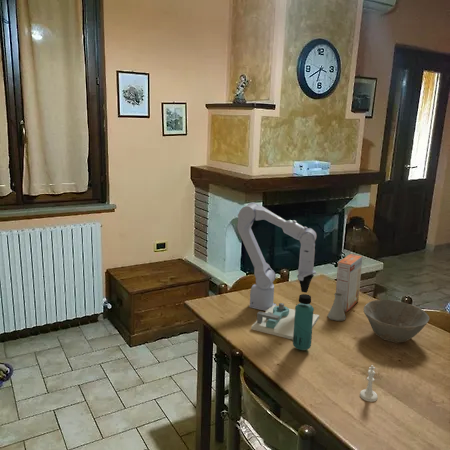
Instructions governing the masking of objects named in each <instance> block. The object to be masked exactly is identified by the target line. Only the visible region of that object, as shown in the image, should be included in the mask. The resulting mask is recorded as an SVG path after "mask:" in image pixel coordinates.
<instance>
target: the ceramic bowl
mask: <svg viewBox="0 0 450 450" xmlns="http://www.w3.org/2000/svg"><path fill="white" fill-rule="evenodd" d="M363 313H364V315H365V317H366V318H367V319H368V320H367V321H368V322H369V324H370V327H371V329H372V332H374V334H376V335H377V336H378V337H379V338H381V339H382V340H385V341H389V342H392V343H406V342H407V341H409V340H411V339H412V338H414V337H415V336H417V335H418V334H419V333H420V332H421V331H422V330H423V329H424V328H425V326H426V325H427V324H428V322H429V321H430V316H429V314H428V313H427V312H426V311H425V310H424V309H422V308H421V307H418V306H416V305H413V304H410V303H407V302H404V301H400V300H399V301H398V300H394V299H393V300H392V299H375V300H371V301H369V302H367V303H366V304H365V305H364V306H363Z"/></svg>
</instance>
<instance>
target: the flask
mask: <svg viewBox="0 0 450 450" xmlns="http://www.w3.org/2000/svg"><path fill="white" fill-rule="evenodd" d="M333 295H334V300H333V304H332V306H331V308H330V310H329V312H328V314H327V318H328V319H329V320H332V321H337V322H341V321H345V320H346V318H347V317H346V312H345V311H344V310H343V306H342V296H343V294H341V293H336V292H335V293H334V294H333Z"/></svg>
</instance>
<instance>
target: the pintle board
mask: <svg viewBox="0 0 450 450" xmlns="http://www.w3.org/2000/svg"><path fill="white" fill-rule="evenodd" d="M275 306H277V304H276V305H273V306H272V307H270V308H269V309H268V310H267V311H265V312H263V311H261V310H260V311H257V313H256V321H254V323H253V324H252V325H251V329H250V330H254V331H257V332H261V333H265V334H268V335H269V334H270V335H272V336H277V337H280V338H284V339H289V340H292V341H293V335H294V330H293V329H294V320H295V319H294V317H295V308H293V309H292V308H289V307H287V308H288V309H289V314H288V315H287V316H282V318H281V319H280V316H277V315H273V308H274V307H275ZM278 306H279V311H284V306H285V303H283V302H280V303H278ZM269 319H273V320H277V321H278V320H279V319H280V320H279V322H278V323H277V325H276V326H275V327H274V328H270V327H266V322H267V321H268V320H269ZM319 319H320V314H315V313H313V323H312V328H314V327H315V325H316V323H317V322H318V321H319Z"/></svg>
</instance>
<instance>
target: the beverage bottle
mask: <svg viewBox="0 0 450 450" xmlns="http://www.w3.org/2000/svg"><path fill="white" fill-rule="evenodd" d="M298 297H299V298H298V302H299V303H297V304H296V305H295V307H294V310H295V317H294V319H295V320H294V329H293V330H294V335H293V340H292V345H293V347H294V348H295V349H297V350H301V351H306V350H309V349H310V348H311V346H312V340H313V328H314V327H313V328H312V323H313V314H314V311H315V309H314V307H313V306H312V305H311V303H312V296H311V295H310V294H306V293H303V294H300V295H299V296H298Z"/></svg>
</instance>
